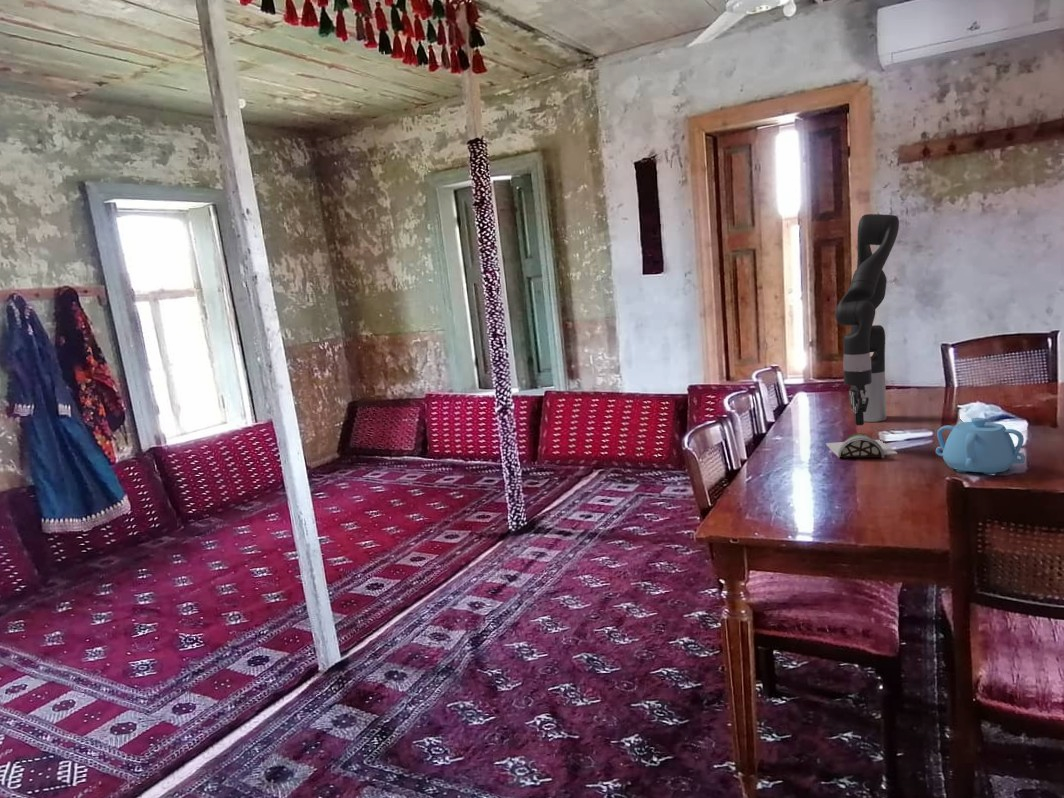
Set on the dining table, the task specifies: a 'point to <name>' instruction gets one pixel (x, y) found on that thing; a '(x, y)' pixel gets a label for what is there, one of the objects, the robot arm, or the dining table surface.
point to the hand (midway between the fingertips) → (859, 424)
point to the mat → (886, 448)
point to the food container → (860, 447)
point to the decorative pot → (980, 447)
